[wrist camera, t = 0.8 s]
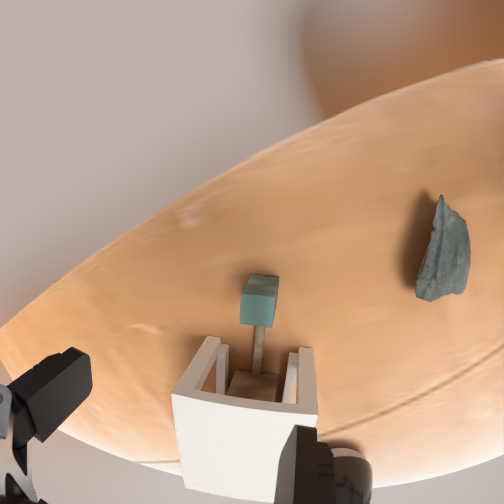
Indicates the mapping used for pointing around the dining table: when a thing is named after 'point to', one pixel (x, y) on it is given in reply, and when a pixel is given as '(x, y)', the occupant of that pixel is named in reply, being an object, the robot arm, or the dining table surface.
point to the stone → (444, 256)
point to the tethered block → (257, 338)
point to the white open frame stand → (237, 425)
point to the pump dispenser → (352, 477)
